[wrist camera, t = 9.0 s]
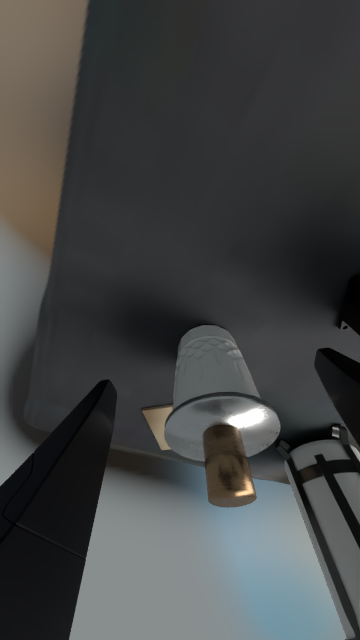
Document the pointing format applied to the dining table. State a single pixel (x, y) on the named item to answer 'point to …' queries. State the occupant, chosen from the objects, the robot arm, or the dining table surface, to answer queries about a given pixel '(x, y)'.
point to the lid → (223, 440)
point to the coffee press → (331, 515)
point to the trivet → (158, 422)
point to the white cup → (210, 365)
